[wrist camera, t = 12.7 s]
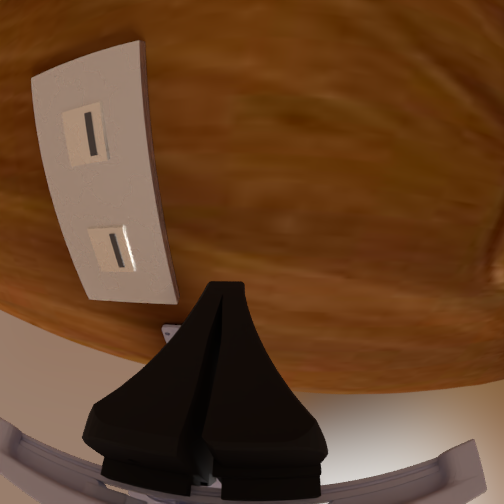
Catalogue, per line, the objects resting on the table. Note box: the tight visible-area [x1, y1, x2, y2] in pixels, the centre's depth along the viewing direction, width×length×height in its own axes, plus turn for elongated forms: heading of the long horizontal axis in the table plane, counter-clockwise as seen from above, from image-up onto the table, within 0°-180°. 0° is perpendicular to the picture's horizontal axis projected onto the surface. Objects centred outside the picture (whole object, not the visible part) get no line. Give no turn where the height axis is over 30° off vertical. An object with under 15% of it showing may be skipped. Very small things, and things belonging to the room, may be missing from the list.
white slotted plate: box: [31, 40, 180, 304], centre depth 18 cm, size 20×9×1 cm, turn 1°
